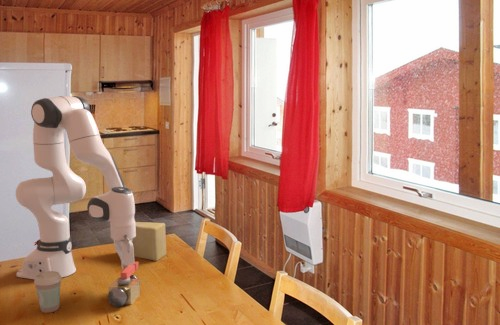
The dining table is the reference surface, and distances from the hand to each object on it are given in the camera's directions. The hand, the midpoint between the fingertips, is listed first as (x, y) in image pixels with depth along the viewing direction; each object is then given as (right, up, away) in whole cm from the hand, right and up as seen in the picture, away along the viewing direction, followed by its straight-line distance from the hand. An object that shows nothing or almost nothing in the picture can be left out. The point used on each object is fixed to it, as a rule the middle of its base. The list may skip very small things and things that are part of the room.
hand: (124, 268), depth 182 cm
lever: (+2, -3, -3) cm, 4 cm away
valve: (+1, -9, -6) cm, 11 cm away
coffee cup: (-22, -11, -13) cm, 28 cm away
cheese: (-3, -3, +39) cm, 39 cm away
